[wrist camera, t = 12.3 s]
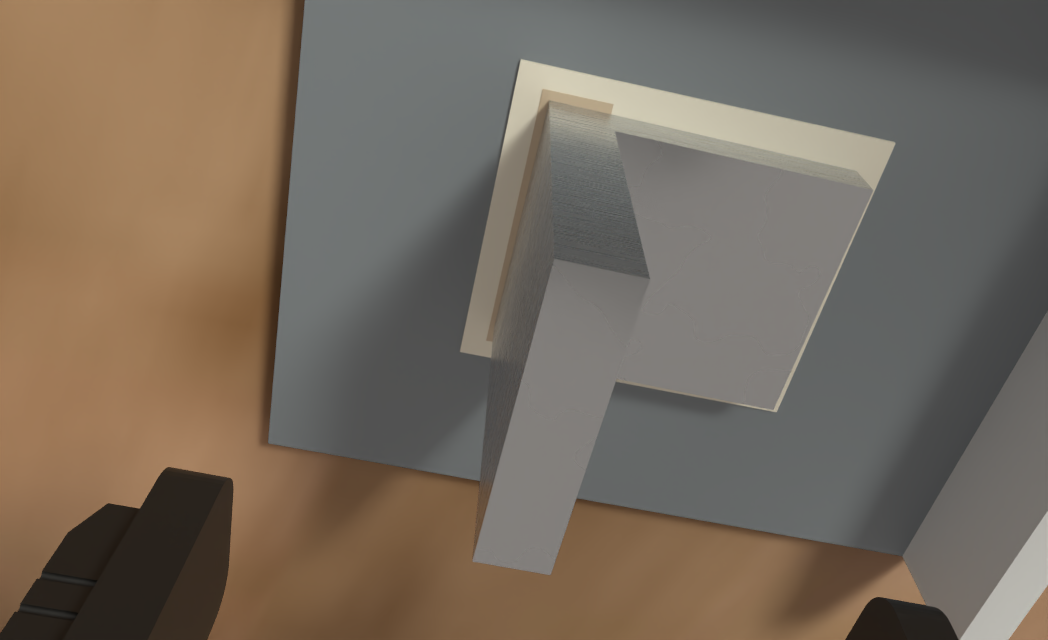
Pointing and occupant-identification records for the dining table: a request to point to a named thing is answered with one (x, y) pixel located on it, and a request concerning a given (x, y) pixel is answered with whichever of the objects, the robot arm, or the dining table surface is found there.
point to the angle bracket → (643, 299)
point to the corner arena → (736, 116)
